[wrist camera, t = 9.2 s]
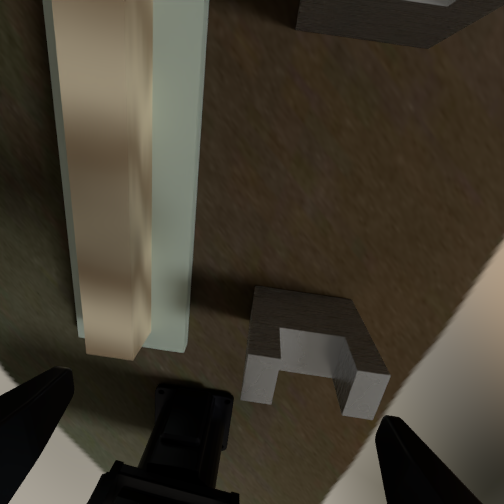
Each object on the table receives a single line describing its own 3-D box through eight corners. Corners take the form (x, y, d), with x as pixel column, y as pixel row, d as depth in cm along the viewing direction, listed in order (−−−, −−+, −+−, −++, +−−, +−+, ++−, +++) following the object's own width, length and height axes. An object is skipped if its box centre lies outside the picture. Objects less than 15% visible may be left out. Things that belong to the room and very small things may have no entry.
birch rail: (151, 331, 21) (133, 360, 18) (110, 325, 21) (86, 353, 18) (153, -130, 12) (119, -211, 9) (84, -140, 12) (29, -223, 9)
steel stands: (341, 334, 21) (372, 420, 15) (249, 320, 21) (240, 399, 15) (451, -26, 14) (615, -177, 7) (307, -47, 14) (340, -215, 7)
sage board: (187, 344, 23) (183, 352, 22) (86, 329, 23) (78, 337, 22) (218, -150, 13) (214, -173, 12) (39, -175, 13) (20, -200, 12)
